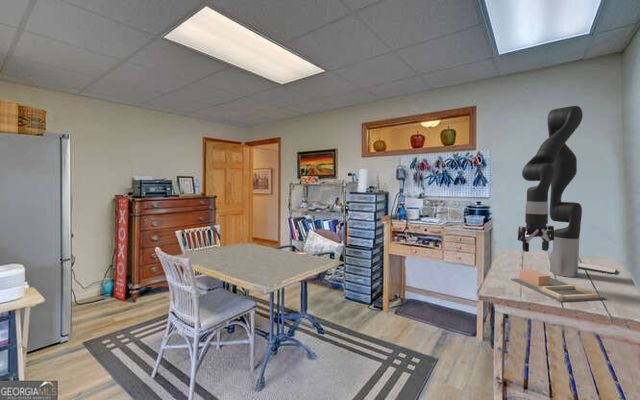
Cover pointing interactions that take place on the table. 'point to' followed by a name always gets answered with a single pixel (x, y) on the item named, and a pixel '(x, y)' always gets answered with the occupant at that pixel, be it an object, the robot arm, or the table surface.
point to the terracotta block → (534, 277)
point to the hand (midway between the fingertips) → (535, 251)
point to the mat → (563, 291)
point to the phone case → (596, 268)
